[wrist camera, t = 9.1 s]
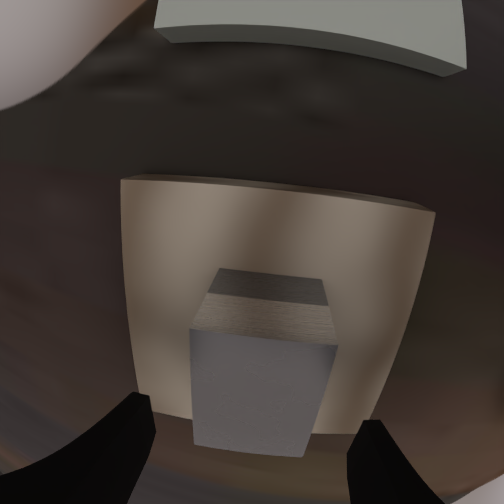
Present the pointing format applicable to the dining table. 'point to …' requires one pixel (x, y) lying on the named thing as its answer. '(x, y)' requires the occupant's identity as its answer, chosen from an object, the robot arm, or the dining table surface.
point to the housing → (260, 362)
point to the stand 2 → (273, 262)
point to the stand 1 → (329, 27)
